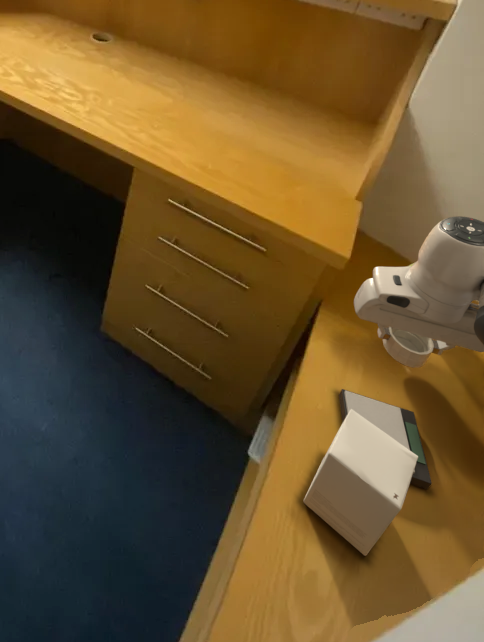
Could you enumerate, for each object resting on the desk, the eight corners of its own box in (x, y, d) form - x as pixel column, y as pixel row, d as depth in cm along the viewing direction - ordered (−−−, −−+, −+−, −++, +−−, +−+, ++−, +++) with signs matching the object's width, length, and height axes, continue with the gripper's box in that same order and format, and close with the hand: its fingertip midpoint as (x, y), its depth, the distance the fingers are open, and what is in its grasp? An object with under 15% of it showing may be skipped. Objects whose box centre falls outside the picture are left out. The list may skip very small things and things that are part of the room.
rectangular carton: (385, 505, 77) (422, 456, 70) (365, 558, 72) (403, 512, 64) (323, 455, 83) (351, 405, 75) (300, 501, 78) (328, 452, 70)
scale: (409, 418, 88) (415, 409, 86) (427, 489, 79) (433, 482, 77) (338, 394, 91) (342, 386, 90) (347, 461, 82) (352, 453, 81)
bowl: (419, 341, 97) (428, 326, 95) (429, 374, 92) (438, 359, 89) (378, 329, 99) (386, 314, 97) (385, 361, 94) (393, 346, 92)
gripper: (501, 297, 86) (469, 346, 93) (364, 263, 93) (344, 311, 100) (516, 330, 81) (481, 379, 88) (370, 291, 88) (348, 340, 95)
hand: (407, 343), depth 94 cm, fingers closed on bowl, 7 cm apart
